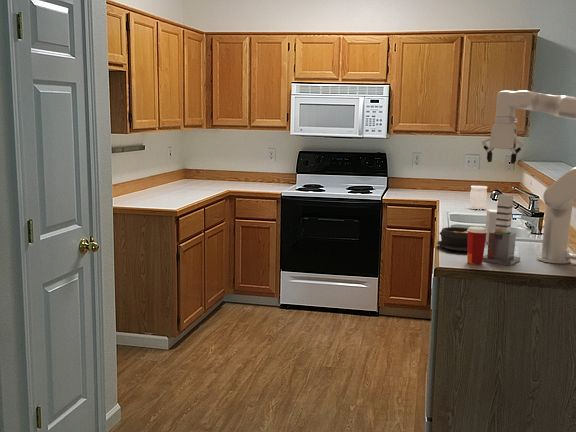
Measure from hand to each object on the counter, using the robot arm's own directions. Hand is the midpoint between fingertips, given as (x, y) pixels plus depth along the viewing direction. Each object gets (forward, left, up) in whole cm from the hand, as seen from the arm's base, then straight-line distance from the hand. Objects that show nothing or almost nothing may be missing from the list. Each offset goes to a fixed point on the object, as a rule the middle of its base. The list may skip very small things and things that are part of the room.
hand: (501, 162), depth 263 cm
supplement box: (+7, -23, -39) cm, 45 cm away
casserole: (+14, +4, -39) cm, 41 cm away
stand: (-8, +15, -38) cm, 42 cm away
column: (-8, +15, -30) cm, 34 cm away
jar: (+56, -130, -38) cm, 147 cm away
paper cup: (-2, +27, -38) cm, 47 cm away
